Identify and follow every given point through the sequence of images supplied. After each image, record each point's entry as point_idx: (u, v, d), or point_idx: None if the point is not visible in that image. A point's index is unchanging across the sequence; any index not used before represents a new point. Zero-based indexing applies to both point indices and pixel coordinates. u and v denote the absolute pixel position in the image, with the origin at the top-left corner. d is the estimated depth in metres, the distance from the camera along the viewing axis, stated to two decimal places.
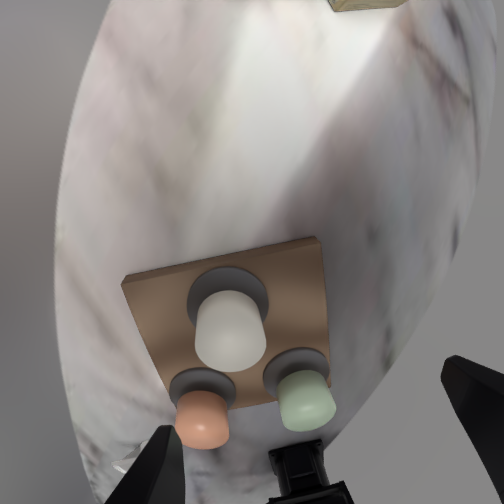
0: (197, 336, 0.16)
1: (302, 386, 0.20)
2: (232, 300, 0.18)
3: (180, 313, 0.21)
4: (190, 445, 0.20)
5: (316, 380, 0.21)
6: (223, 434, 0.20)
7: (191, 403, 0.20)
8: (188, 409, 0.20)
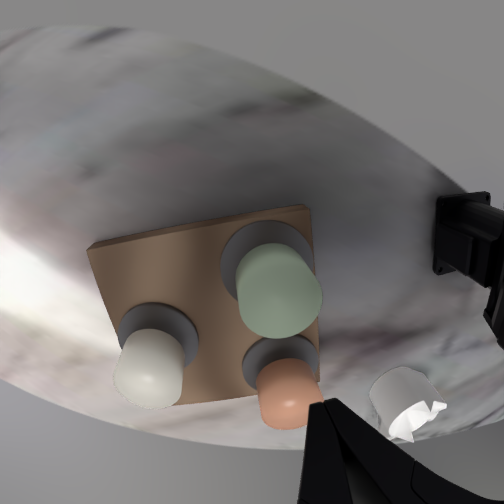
0: (140, 405, 0.16)
1: None
2: None
3: None
4: None
5: (239, 274, 0.16)
6: (295, 394, 0.17)
7: None
8: None
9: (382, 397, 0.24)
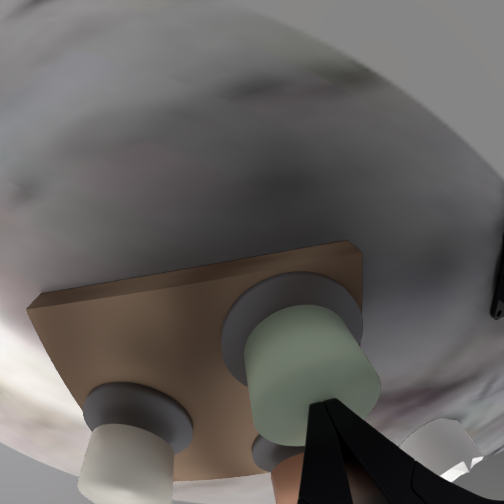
0: None
1: None
2: None
3: None
4: None
5: (252, 357, 0.09)
6: None
7: None
8: None
9: (415, 457, 0.17)
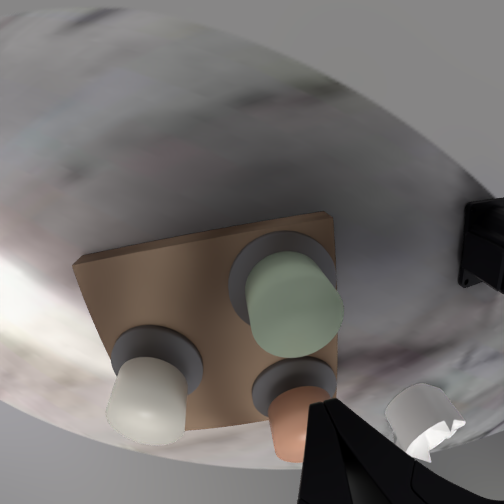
0: (138, 441, 0.13)
1: None
2: None
3: None
4: None
5: (250, 286, 0.14)
6: None
7: (271, 431, 0.16)
8: None
9: (400, 417, 0.21)
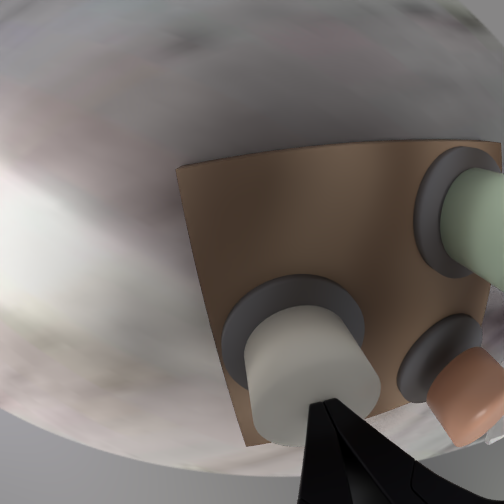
0: (288, 444, 0.09)
1: (468, 239, 0.08)
2: (248, 372, 0.10)
3: None
4: (495, 421, 0.09)
5: (466, 201, 0.08)
6: None
7: (439, 413, 0.11)
8: (443, 423, 0.10)
9: None
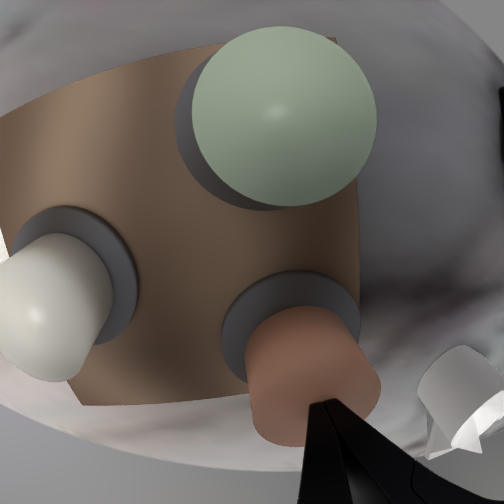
0: (27, 372, 0.07)
1: None
2: None
3: (103, 348, 0.12)
4: None
5: None
6: (327, 372, 0.08)
7: None
8: None
9: (441, 391, 0.15)
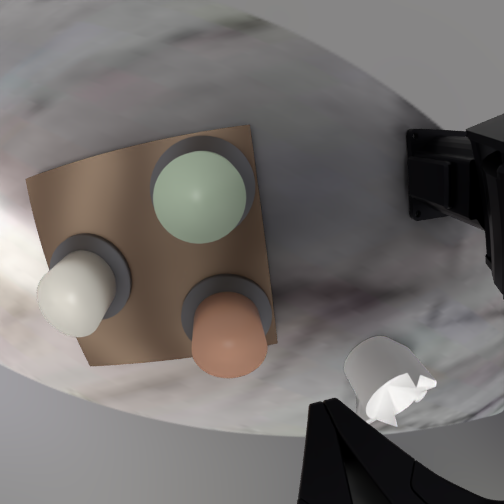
0: (63, 332, 0.14)
1: None
2: None
3: (108, 323, 0.18)
4: (255, 364, 0.16)
5: None
6: (228, 325, 0.15)
7: None
8: None
9: (358, 370, 0.22)
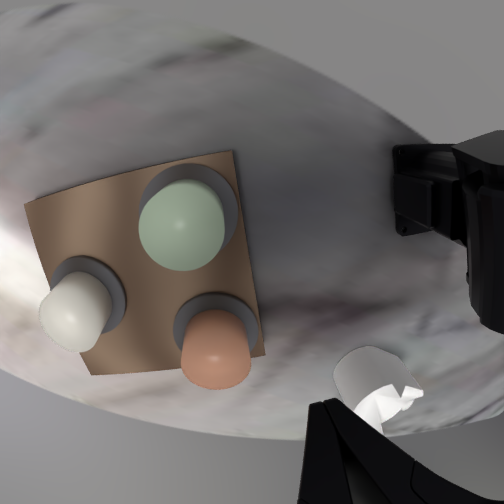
0: (64, 348, 0.15)
1: None
2: None
3: (106, 336, 0.20)
4: (241, 377, 0.17)
5: None
6: (213, 343, 0.16)
7: None
8: None
9: (345, 379, 0.23)
